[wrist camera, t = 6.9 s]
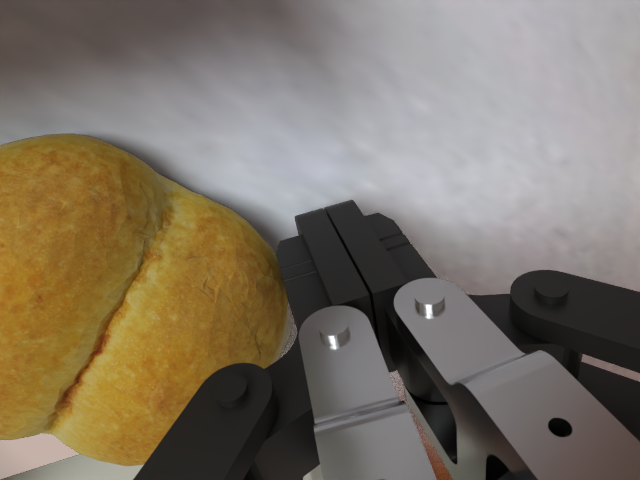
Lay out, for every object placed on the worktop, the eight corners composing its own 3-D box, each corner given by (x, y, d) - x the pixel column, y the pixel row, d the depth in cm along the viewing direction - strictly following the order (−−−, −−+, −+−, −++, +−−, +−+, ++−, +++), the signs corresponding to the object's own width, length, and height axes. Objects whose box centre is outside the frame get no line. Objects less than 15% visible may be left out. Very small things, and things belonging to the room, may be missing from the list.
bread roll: (-27, 52, 10) (-128, 116, 6) (320, 242, 14) (366, 337, 11) (-159, 341, 12) (-283, 495, 9) (173, 425, 16) (173, 548, 13)
